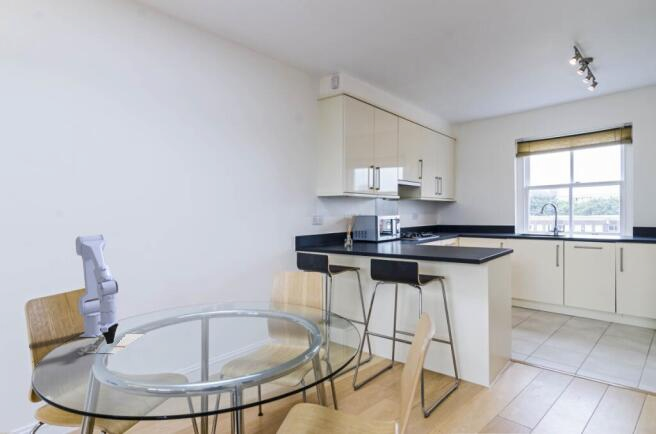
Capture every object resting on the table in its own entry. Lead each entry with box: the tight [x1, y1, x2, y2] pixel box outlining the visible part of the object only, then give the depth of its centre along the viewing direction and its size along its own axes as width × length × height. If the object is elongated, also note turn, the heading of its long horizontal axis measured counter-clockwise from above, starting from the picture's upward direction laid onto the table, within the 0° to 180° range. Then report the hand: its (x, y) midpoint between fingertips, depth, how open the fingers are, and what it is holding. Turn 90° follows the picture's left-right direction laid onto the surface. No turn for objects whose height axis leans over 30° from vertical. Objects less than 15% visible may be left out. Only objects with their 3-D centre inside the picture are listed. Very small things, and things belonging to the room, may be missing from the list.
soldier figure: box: [77, 334, 105, 356], centre depth 138 cm, size 8×5×12 cm
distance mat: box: [84, 332, 147, 355], centre depth 145 cm, size 20×12×1 cm, turn 174°
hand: (110, 343), depth 141 cm, fingers closed
